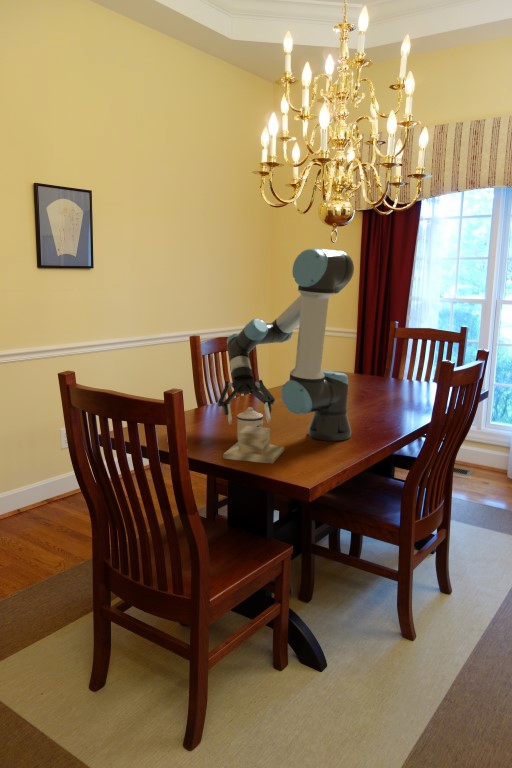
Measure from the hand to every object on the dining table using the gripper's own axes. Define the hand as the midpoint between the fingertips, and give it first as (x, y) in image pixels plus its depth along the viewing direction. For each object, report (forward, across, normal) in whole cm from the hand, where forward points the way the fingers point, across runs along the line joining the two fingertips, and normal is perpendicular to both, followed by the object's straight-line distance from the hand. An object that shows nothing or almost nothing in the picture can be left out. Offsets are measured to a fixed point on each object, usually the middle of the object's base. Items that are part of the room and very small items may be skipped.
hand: (249, 421), depth 202 cm
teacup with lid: (+5, 0, -4) cm, 7 cm away
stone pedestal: (+17, +2, +8) cm, 19 cm away
